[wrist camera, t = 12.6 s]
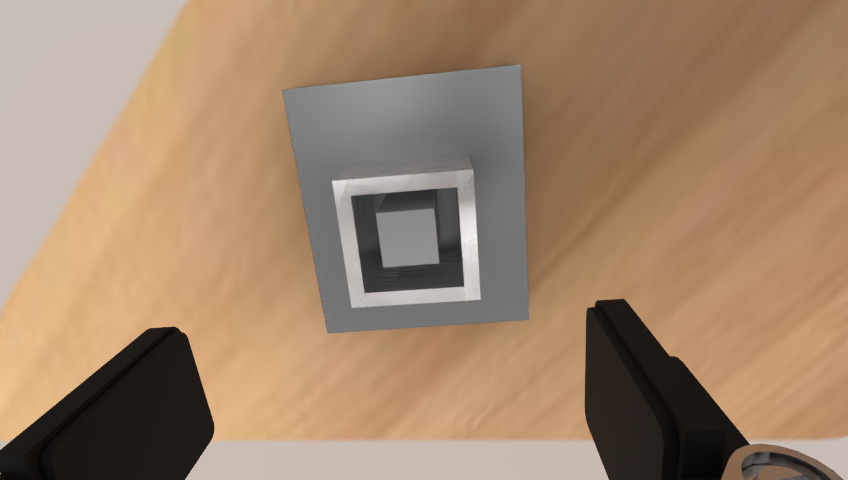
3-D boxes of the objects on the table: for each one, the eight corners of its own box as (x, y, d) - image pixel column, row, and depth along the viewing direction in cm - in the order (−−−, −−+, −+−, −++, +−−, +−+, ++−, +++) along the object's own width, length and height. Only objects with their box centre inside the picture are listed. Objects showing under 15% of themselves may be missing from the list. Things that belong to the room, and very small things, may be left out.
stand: (516, 65, 24) (539, 58, 18) (524, 308, 28) (545, 364, 22) (291, 89, 25) (245, 90, 19) (333, 321, 29) (306, 378, 23)
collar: (467, 152, 24) (473, 169, 19) (474, 260, 26) (480, 299, 21) (353, 162, 24) (331, 181, 19) (368, 267, 26) (351, 307, 21)
